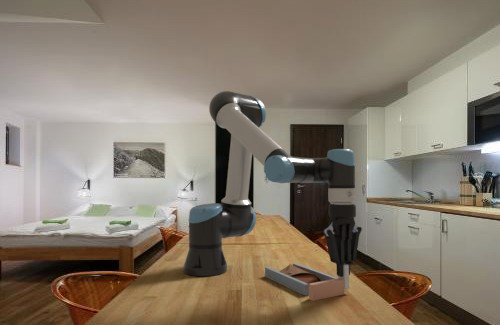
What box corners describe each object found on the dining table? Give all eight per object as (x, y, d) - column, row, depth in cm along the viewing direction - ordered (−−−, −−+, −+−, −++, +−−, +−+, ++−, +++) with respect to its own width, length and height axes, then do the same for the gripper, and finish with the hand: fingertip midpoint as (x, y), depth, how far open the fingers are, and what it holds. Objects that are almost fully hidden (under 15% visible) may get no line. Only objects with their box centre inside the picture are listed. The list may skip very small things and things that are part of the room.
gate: (312, 300, 88) (312, 285, 89) (308, 299, 90) (308, 283, 90) (344, 294, 93) (344, 279, 94) (340, 292, 95) (340, 278, 95)
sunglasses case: (269, 275, 113) (278, 257, 114) (285, 284, 115) (293, 266, 117) (298, 291, 96) (307, 269, 98) (316, 301, 98) (325, 279, 100)
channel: (305, 295, 92) (305, 284, 92) (264, 276, 112) (264, 267, 112) (339, 289, 98) (339, 278, 98) (295, 271, 117) (295, 263, 118)
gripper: (333, 204, 90) (335, 295, 88) (368, 203, 96) (370, 287, 94) (315, 203, 96) (316, 287, 95) (349, 202, 102) (351, 281, 101)
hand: (343, 287), depth 95 cm, fingers closed
